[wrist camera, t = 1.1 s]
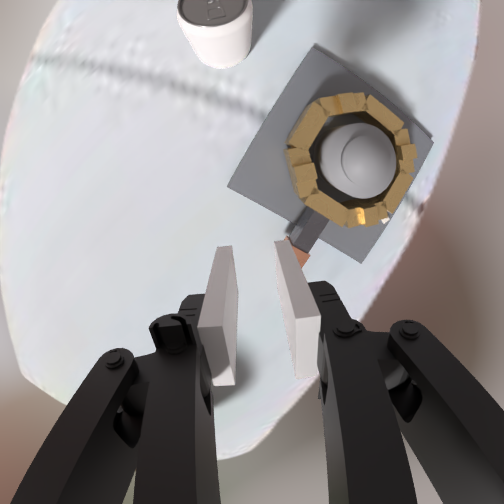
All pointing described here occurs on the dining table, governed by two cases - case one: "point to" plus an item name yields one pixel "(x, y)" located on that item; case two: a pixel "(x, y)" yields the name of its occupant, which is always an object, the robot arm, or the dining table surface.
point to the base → (326, 153)
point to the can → (217, 29)
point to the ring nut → (305, 173)
